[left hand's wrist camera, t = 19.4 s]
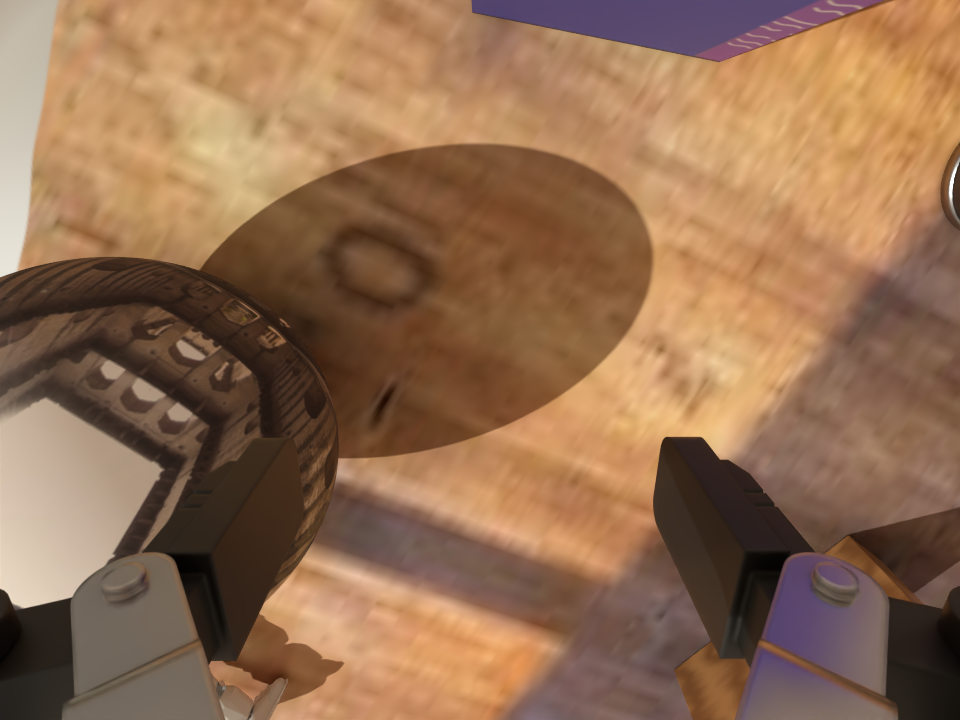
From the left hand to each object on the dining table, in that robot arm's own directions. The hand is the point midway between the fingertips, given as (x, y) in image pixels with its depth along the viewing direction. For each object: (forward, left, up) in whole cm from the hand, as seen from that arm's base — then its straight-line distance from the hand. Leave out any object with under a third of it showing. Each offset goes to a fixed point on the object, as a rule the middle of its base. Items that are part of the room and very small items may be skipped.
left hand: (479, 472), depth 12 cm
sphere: (+17, -18, -32) cm, 41 cm away
